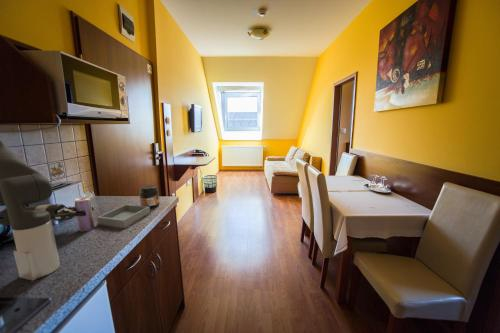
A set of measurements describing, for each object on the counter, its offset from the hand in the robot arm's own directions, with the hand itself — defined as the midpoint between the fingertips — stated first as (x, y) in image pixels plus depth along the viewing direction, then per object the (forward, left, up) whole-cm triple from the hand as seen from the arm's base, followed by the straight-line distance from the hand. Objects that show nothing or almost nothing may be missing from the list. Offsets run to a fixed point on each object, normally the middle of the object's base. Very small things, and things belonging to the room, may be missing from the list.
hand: (89, 211), depth 102 cm
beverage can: (-1, +2, -9) cm, 10 cm away
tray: (+13, -7, -9) cm, 17 cm away
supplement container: (+32, -7, -9) cm, 34 cm away
